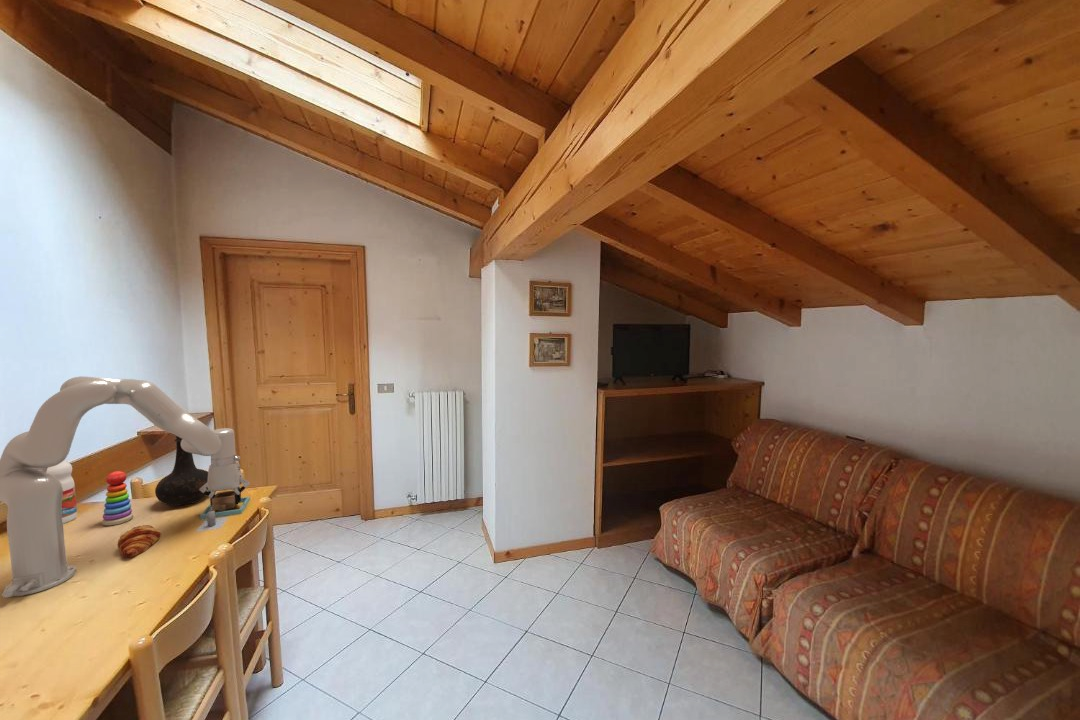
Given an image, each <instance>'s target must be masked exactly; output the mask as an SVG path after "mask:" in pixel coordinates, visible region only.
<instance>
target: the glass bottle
mask: <svg viewBox="0 0 1080 720" xmlns="http://www.w3.org/2000/svg"><path fill="white" fill-rule="evenodd" d="M181 441H182V438H180V437H178V436H176V435H175V439H174V442H176V445H175V446H176V447H175V449H176V451H175V460H174V465H173V468H172V471H171V473H169V474H168V475H166V476H164V477H163V478H161V480H159V482H158V483H156V486H155V489H154V493H155V496H156V497H155V498H157V500H158V501H159V502H161V503H162V504H164V505H168V506H185V505H188V504H193V503H194V502H198V501H200V500H202V499H203V498H204V497H206V495H205V494H204V493H202V492H201V491H200V490H199V489H200V488H201V487H202V486H203V485H204V484H205V483H207V481H208V471H207V470H205V469H202V468H201V469H200V468H197V466H196V464H195V461H194V456H193V453H189V452H186V451H184V450H183V449H182V448H181ZM206 489H207V490H208V486H207V487H206ZM192 502H193V503H192Z"/></svg>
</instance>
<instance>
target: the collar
mask: <svg viewBox="0 0 1080 720" xmlns="http://www.w3.org/2000/svg"><path fill="white" fill-rule="evenodd" d="M235 495H236V493H235V491H234V490H233V489H231V490H223V491H217V493H215V496H214V497H213V498H212V509H211V511H218V512H223V511H227V509H234V508H235V507H236V506H237V505H236V503H235Z"/></svg>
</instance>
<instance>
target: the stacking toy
mask: <svg viewBox="0 0 1080 720" xmlns="http://www.w3.org/2000/svg"><path fill="white" fill-rule="evenodd" d="M105 480H106V483H107V484H108V486H107V487H106V491H107V492H106V493H105V496H106V497H105V503H104V509H103V514H102V521H101V523H102V525H103V526H116V525H122V524H123V523H126V522H128V521H131V520H132V519H133V518H134V513H132V512H133V508H132V504H131V500H130V498H129V497H130V494H129V493H128V491H129V490H128V488H127V487H128V486H127V483H125V481H126V480H127V474H126V472H123V471H120V470H117V471H116V470H115V471H112V472H110V473H109V474H108V475H107V476H106V479H105Z"/></svg>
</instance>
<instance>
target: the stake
mask: <svg viewBox="0 0 1080 720" xmlns="http://www.w3.org/2000/svg"><path fill="white" fill-rule="evenodd" d="M215 513H216V510H213V511H212V510H211V511H209V512H207V519H204V521H203V522H202V524H201V525H200V526H199V527H198V528H197V530H195V532H196V533H197V532H205V531H211V530H217V529H221V528H222V527H223V525H224V524H225V523H226V521H227V520H228V518H229V516H223V517H216V518H215Z"/></svg>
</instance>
